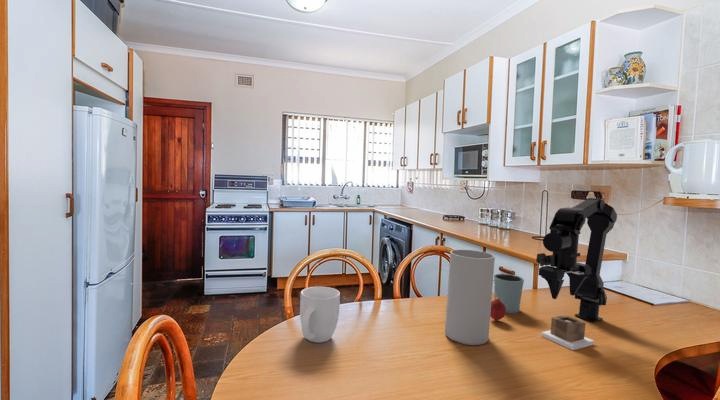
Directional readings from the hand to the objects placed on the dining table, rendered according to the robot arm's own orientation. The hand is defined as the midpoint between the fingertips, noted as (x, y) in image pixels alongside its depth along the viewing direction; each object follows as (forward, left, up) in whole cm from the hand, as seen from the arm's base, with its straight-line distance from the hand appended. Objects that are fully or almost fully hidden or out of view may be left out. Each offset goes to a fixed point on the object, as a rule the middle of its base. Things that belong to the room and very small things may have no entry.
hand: (563, 297), depth 117 cm
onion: (+14, -14, -11) cm, 22 cm away
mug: (+75, -22, -11) cm, 79 cm away
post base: (+5, +5, -11) cm, 13 cm away
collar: (+5, +5, -10) cm, 12 cm away
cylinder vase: (+33, -8, -11) cm, 35 cm away
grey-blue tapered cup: (+1, -21, -11) cm, 24 cm away
